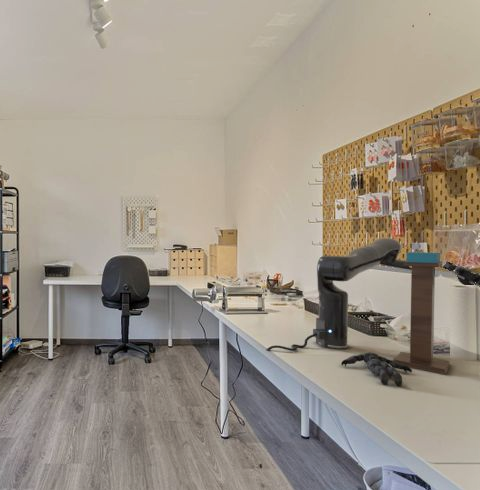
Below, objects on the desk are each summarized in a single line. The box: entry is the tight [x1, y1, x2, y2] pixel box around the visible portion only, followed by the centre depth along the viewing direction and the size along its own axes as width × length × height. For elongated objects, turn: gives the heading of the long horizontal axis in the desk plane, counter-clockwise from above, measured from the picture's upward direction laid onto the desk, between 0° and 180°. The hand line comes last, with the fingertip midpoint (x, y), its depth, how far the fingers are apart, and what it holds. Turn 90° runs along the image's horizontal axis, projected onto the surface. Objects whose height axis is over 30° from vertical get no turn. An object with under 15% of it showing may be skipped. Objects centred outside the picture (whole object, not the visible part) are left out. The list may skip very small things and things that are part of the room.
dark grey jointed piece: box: [341, 351, 413, 387], centre depth 106 cm, size 18×4×20 cm
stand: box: [393, 262, 451, 375], centre depth 113 cm, size 12×12×32 cm
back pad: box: [405, 251, 441, 263], centre depth 116 cm, size 19×7×3 cm, turn 132°
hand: (466, 274), depth 120 cm, fingers open, 8 cm apart
